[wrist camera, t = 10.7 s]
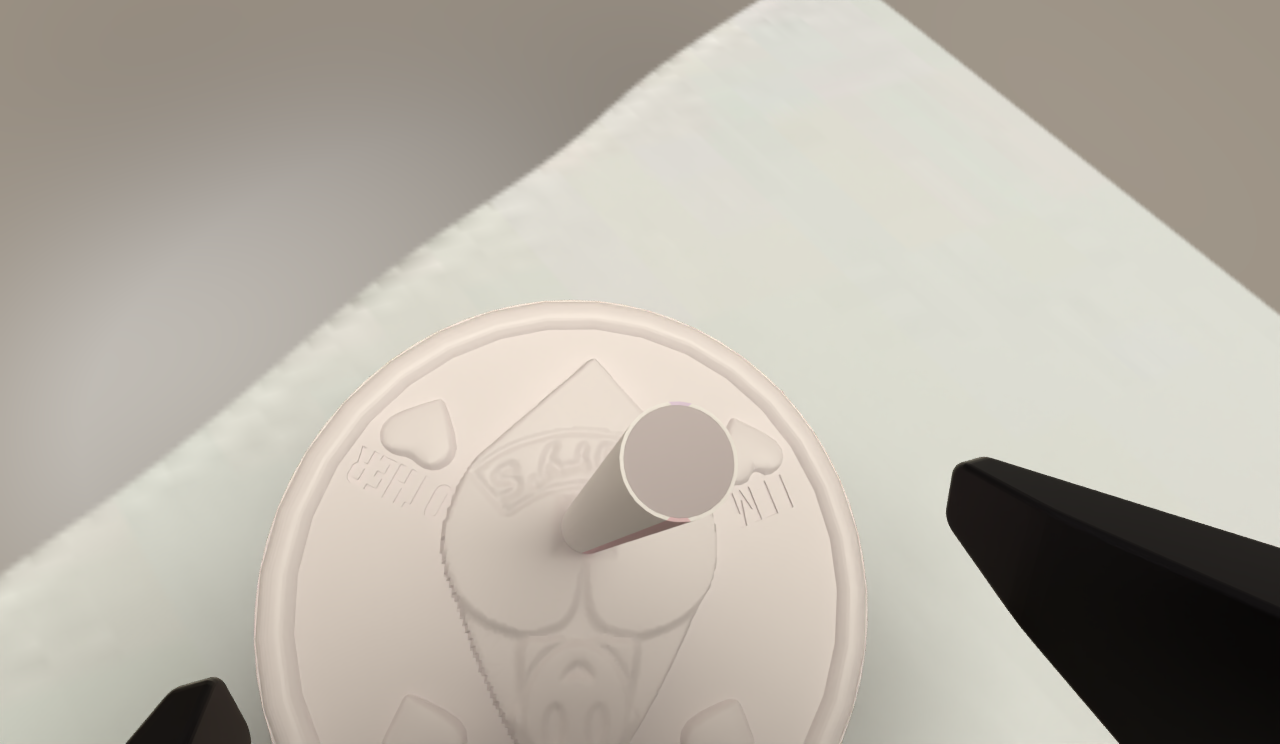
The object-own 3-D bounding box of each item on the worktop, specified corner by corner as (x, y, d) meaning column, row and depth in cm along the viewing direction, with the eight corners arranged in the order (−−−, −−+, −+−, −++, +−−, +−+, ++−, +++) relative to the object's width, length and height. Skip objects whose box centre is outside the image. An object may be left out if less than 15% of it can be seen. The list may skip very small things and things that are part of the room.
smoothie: (680, 452, 18) (1177, 74, 4) (678, 731, 16) (1519, 1525, 3) (419, 437, 17) (52, -109, 3) (384, 733, 15) (-715, 2029, 2)
